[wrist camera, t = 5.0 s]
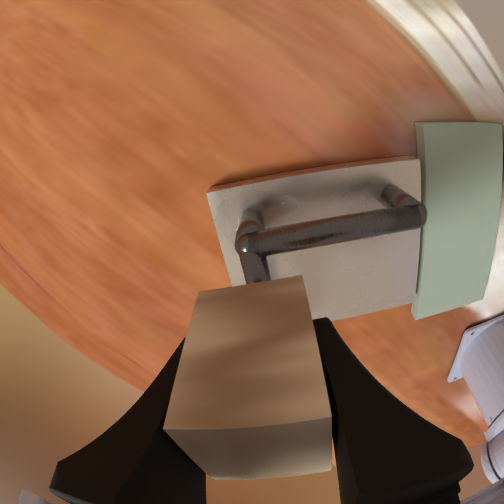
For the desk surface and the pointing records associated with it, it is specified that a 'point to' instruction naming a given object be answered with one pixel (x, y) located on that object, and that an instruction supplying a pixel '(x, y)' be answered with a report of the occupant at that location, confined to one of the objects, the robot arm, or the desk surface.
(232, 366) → the maple block
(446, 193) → the pad
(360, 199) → the beige flat handled piece
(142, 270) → the desk surface
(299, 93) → the desk surface
